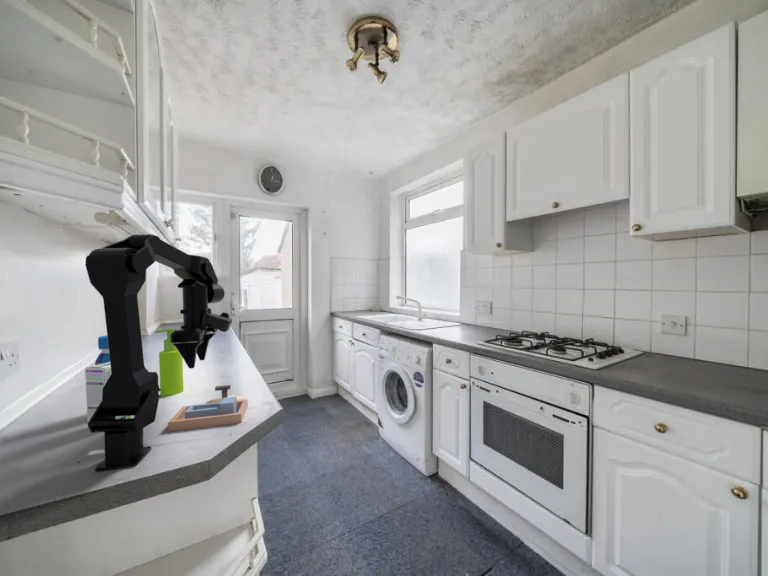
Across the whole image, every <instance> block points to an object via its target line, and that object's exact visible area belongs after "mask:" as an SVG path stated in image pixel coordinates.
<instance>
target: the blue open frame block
mask: <svg viewBox="0 0 768 576" xmlns="http://www.w3.org/2000/svg"><path fill="white" fill-rule="evenodd" d="M234 396H235V397H226V398H223V399H222V401H221V402H216V403H207V404H205V403H200V404H199V403H198V404H191V405H189V406H190V407H189V408H188V409H187V410H186V411H185V418H184V419H189V418H198V417H206V416H215V415H224V414H233V413H238V409H237V396H238V395H234Z"/></svg>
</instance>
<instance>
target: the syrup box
mask: <svg viewBox="0 0 768 576" xmlns="http://www.w3.org/2000/svg"><path fill="white" fill-rule="evenodd" d="M110 375H111V364H110V362H108V363H104V364H100V365H93V366H88V367H87V366H86V367H85V368H84V377H85V381H84V382H85V395H86V396H85V398H86V400H85V401H86V415H87V421H86V422H87V423H88V422H89V420H90V419H91V417H92V416H93V414H94V412H95V411H96V409H97V408H98V406H99V404H100V403H101V401H102V390H103V387H104V385H105V384H106V382H107V380H108V379H109V377H110ZM115 419H132V416H116V418H115ZM87 428H88V429H89V427H88V426H87Z"/></svg>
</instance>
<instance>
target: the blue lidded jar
mask: <svg viewBox="0 0 768 576" xmlns="http://www.w3.org/2000/svg"><path fill="white" fill-rule="evenodd" d="M97 339H98V340H97V347H98V350H99V351H101V352H100V353H99V354H98V356H97V357H96V360H95V362H94V366H96V365H100V364H104V363H108V362H110V355H109V346H108V337H107V334H106V335H105V334H104V335H101V336H98V338H97Z"/></svg>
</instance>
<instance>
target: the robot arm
mask: <svg viewBox="0 0 768 576" xmlns="http://www.w3.org/2000/svg"><path fill="white" fill-rule="evenodd" d="M154 263H159V264H161V265H163V266H166V267H168V268H170V269H172V270H173V274H174V275H176V276H177V277H179V278H180V279H182V281H181V282H179V283H178V284H177V288H178V289H182V309H180V311H179V312H180V315H182V317H183V318H182V323H183V324H182V325H181V326H180V328H178V329H176V331H174V332H173V333H172V334H171V335H170V338H171V343H173V345H174V346H175V347H176V348H177V350H178V351H179V353H180V354H181V356H182V359H183V361H184V362H185V364H186V366H187V367H188V369H194V368H196V367H195V365H196V361H197V357H198V359H199V361H205V359H206V356H207V352H208V347H209V343H210V340H211V339H212V338H213V337H214V336H216V333H217V332H218V331H220V332H223V333H226V332H228V331H229V330H230V327H231V326H232V325H231V324H232V323H233V318H231V317H230V313H228V312H222V313H221V314H220V315H219V314H215V313H212V309H211V307H209V304H216V303H219V302H221V301H222V300H224V298H225V294H226V293H225V290H224V287H223V286H221V284H219V280H218V277H217V275H216V272H215V269H214V267H213V265H212V262H211V260H210V259H209V258H208V257H206V256H202V255H193V254H189V253H186V252H184V251H183V250H181V249H179V248H178V247H175V246H173V245H171V244H170V243H167V241H165V240H162V239H161V238H160V237H159V236H158V235H155V234H151V233H147V234H144V233H143V234H132V235H130V236H128V237H125V238H124V239H122V240H120V241H117V242H114V243H111V244H108V245H105V246H103V247H101V248H95V249H93V250H91V252H90V253H89V254H87V255H86V257H85V265H84V266H85V268H86V273H87V275H88V280H89V283H90V285H91V286H92V287H93V288H94V289H95V290H96V291H97V292H98V294H99V295H100V296H101V297H102V299H103V307H104V308H103V309H104V317H105V325H106V335H107V337H108V346H109V355H110V364H111V375H110V377H109V379H108V380H107V382H106V384H105V385H104V387H103V390H102V401H101V403H100V404H99V406H98V408H97V409H96V411H95V412H94V414H93V416H92V417H91V419H90V420H89V422H88V421H87V428H88V427H89V428H88V429H89V432H90V433H91V434H93V433H94V434H95V433H103V437H104V439H103V441H104V445H103V446H104V458H103V460H102V461H101V462H100V463H98V464H97V466H96V467H95V468H94V471H96V472H97V471H106V470H112V469H120V468H126V467H134V466H137V465H139V463H140V462H141V461H143V459H144V458H145V457H146V456H147V455H148V453H149V452H150V451H151V450H152V446H151V445H149V446H145V444H144V428H146V427H147V426H149V425H151V424H152V423H154V422H155V420H156V417H157V411H158V406H159V402H160V384H159V375H158V374H159V373H157V371H149V370H148V369H147V368H146V366H145V362H144V361H145V360H144V358H145V357H144V352H143V349H144V348H143V340H142V330H141V329H142V328H141V322H140V321H141V320H140V311H139V301H138V294H139V292H140V290H141V289H142V287H143V286H144V283H146V280H147V279H146V278H147V277H146V276H147V269H148V268H149V267H150V266H152V265H153V264H154ZM116 416H131V419H115V418H116ZM132 416H133V418H132Z"/></svg>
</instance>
